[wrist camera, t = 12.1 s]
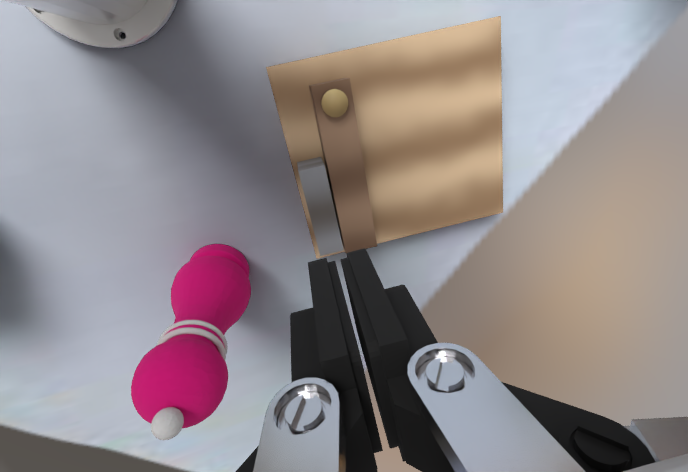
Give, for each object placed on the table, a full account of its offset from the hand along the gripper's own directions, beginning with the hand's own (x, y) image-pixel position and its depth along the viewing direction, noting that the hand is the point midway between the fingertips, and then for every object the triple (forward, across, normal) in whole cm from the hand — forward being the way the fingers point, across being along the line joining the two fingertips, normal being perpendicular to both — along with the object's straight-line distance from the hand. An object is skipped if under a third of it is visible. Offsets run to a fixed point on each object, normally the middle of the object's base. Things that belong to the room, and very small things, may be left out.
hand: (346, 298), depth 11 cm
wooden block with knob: (+27, -8, +2) cm, 28 cm away
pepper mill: (+27, +12, +11) cm, 32 cm away
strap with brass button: (+24, -3, +2) cm, 24 cm away
